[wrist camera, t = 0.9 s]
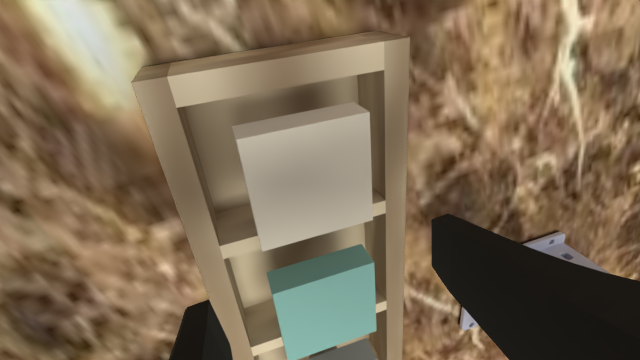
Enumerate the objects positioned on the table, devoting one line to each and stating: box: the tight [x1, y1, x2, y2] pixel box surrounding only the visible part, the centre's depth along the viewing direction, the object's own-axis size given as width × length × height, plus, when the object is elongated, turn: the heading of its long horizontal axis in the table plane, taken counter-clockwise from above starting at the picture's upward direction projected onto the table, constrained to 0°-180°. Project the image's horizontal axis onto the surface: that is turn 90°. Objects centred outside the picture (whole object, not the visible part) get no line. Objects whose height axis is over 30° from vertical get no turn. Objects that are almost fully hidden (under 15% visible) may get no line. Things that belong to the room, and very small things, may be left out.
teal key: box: [266, 244, 376, 360], centre depth 19 cm, size 5×5×3 cm
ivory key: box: [232, 102, 373, 252], centre depth 15 cm, size 5×5×3 cm
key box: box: [131, 31, 410, 360], centre depth 21 cm, size 11×24×3 cm, turn 6°
